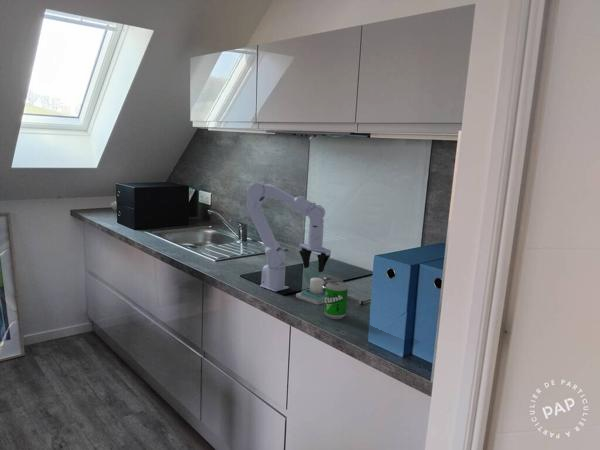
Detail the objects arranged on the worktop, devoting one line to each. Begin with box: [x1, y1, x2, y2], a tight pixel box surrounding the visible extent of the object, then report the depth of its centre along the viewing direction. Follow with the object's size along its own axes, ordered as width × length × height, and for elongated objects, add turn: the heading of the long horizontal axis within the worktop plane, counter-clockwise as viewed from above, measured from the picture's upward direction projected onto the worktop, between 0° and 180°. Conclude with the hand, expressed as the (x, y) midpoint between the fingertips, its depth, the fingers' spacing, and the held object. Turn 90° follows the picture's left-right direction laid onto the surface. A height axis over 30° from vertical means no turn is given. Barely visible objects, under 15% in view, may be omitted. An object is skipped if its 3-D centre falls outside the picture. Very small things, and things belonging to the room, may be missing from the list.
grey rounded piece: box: [309, 277, 325, 295], centre depth 177 cm, size 5×7×6 cm
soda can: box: [323, 280, 349, 320], centre depth 158 cm, size 8×8×12 cm
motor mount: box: [295, 273, 344, 305], centre depth 178 cm, size 12×18×8 cm, turn 137°
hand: (313, 269), depth 183 cm, fingers open, 7 cm apart
